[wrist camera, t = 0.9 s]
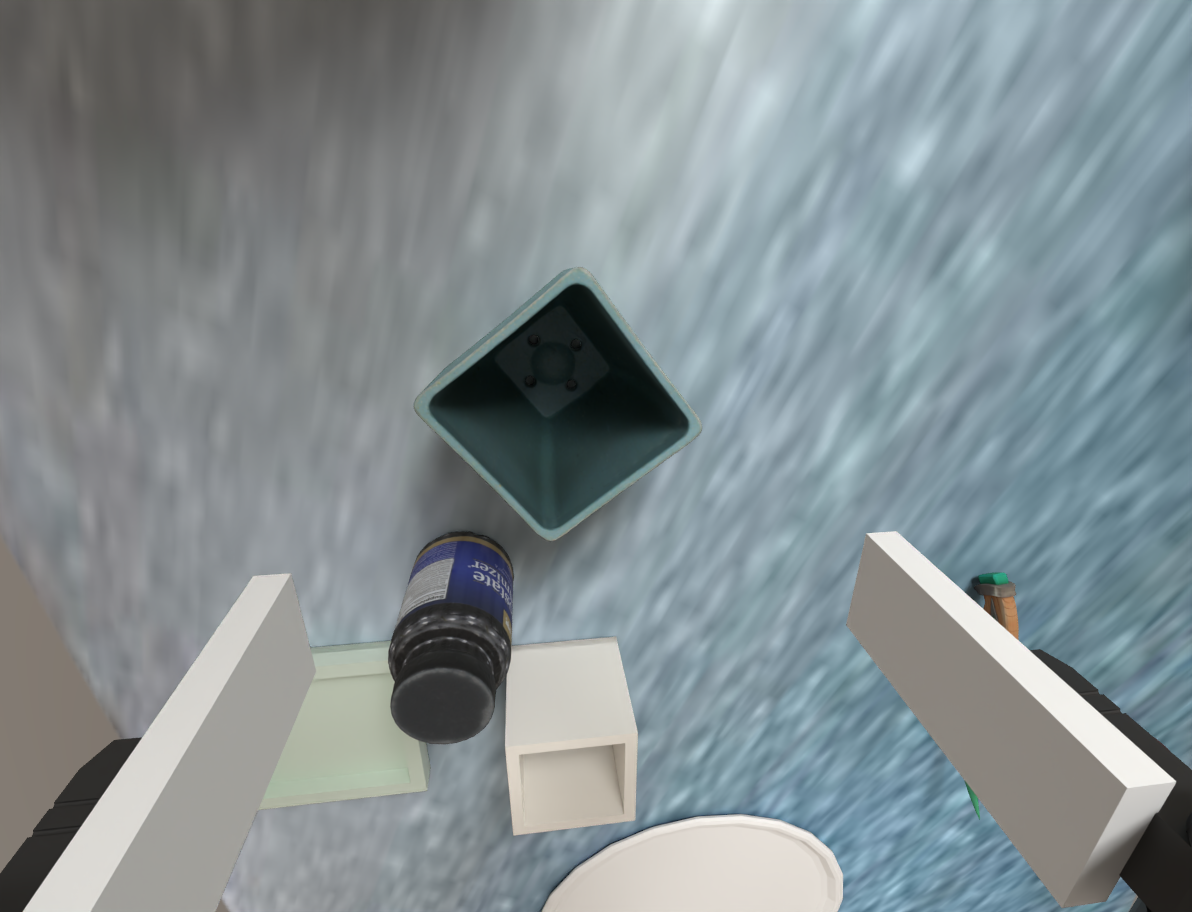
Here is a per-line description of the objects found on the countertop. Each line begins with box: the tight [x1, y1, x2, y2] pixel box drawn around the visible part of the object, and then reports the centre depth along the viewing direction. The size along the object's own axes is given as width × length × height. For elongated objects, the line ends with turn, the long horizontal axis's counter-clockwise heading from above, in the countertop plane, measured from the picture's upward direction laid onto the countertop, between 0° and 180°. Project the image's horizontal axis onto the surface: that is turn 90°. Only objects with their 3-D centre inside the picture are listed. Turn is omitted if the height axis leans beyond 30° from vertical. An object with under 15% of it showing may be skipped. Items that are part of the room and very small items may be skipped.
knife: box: [965, 573, 1018, 819], centre depth 44 cm, size 21×2×5 cm, turn 6°
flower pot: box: [414, 267, 702, 541], centre depth 28 cm, size 9×9×9 cm
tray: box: [258, 641, 431, 810], centre depth 39 cm, size 12×12×2 cm
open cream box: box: [505, 637, 638, 836], centre depth 38 cm, size 7×7×8 cm
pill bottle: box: [388, 531, 514, 744], centre depth 32 cm, size 6×6×11 cm
